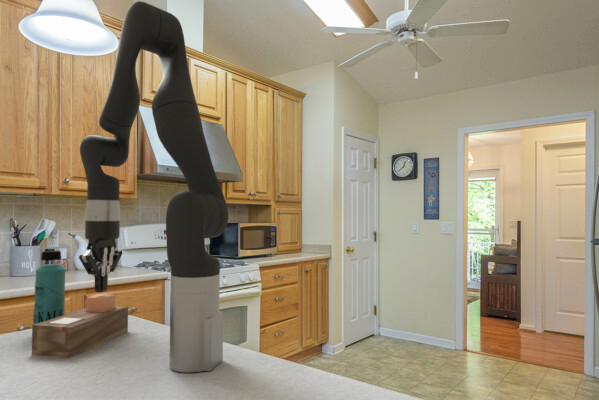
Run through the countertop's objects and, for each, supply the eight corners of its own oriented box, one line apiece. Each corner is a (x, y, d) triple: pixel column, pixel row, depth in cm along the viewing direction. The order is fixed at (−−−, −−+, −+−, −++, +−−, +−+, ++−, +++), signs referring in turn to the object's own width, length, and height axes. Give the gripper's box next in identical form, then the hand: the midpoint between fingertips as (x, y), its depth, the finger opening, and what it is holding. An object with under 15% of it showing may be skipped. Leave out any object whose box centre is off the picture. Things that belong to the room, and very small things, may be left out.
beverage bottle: (46, 329, 102) (48, 249, 102) (71, 330, 101) (73, 249, 101) (25, 337, 95) (28, 251, 96) (51, 338, 94) (53, 252, 95)
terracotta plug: (115, 315, 99) (115, 294, 99) (102, 320, 95) (103, 298, 95) (99, 314, 100) (99, 294, 100) (86, 318, 96) (86, 297, 96)
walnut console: (127, 331, 100) (128, 306, 101) (69, 357, 82) (70, 327, 82) (95, 329, 102) (96, 305, 102) (31, 354, 84) (32, 325, 84)
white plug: (82, 342, 88) (82, 318, 89) (66, 348, 84) (67, 324, 84) (64, 340, 89) (65, 317, 89) (48, 347, 85) (49, 322, 85)
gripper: (97, 219, 91) (95, 297, 91) (133, 219, 104) (131, 287, 103) (68, 219, 93) (66, 296, 92) (107, 218, 106) (105, 286, 105)
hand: (101, 291), depth 98 cm, fingers closed
